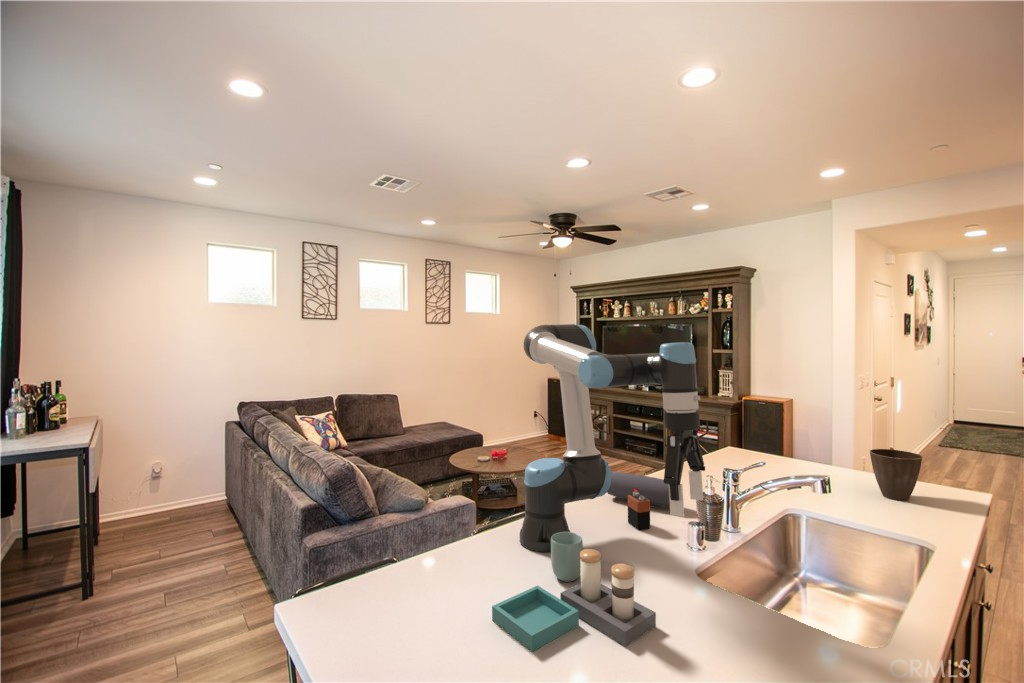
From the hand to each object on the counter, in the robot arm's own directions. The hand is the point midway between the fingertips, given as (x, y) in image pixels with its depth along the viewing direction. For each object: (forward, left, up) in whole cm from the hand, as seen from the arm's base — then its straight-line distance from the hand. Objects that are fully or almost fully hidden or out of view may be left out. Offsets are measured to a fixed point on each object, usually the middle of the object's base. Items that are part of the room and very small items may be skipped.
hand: (687, 507), depth 106 cm
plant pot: (+10, +120, -23) cm, 123 cm away
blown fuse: (-5, -17, -22) cm, 28 cm away
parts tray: (-17, -30, -22) cm, 41 cm away
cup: (-26, -12, -23) cm, 37 cm away
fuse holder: (-9, -17, -22) cm, 29 cm away
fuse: (-14, -17, -22) cm, 31 cm away
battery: (-34, +28, -23) cm, 50 cm away
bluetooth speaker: (-46, +45, -23) cm, 68 cm away
